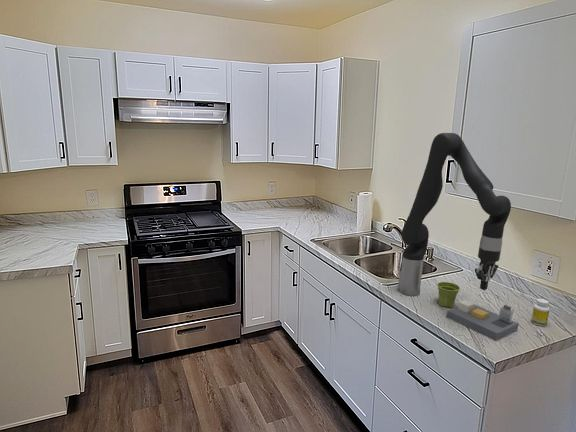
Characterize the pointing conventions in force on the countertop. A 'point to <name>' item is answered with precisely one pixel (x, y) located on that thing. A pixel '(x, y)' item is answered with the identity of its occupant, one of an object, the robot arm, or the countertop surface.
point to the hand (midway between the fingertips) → (483, 289)
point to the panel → (483, 323)
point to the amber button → (479, 314)
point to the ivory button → (466, 306)
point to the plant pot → (447, 293)
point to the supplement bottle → (540, 312)
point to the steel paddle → (506, 314)
